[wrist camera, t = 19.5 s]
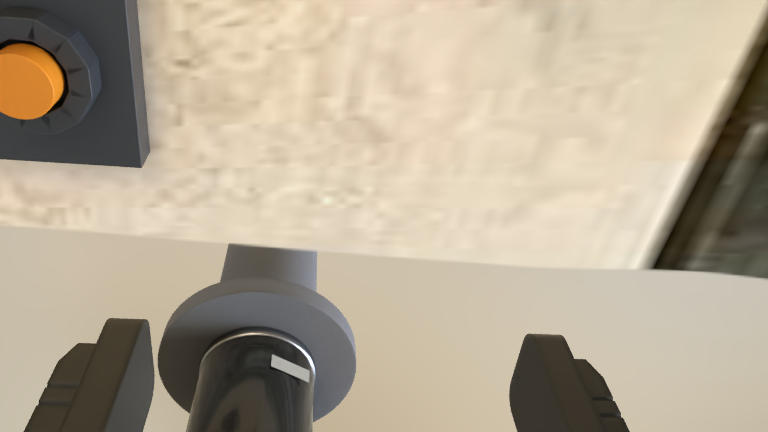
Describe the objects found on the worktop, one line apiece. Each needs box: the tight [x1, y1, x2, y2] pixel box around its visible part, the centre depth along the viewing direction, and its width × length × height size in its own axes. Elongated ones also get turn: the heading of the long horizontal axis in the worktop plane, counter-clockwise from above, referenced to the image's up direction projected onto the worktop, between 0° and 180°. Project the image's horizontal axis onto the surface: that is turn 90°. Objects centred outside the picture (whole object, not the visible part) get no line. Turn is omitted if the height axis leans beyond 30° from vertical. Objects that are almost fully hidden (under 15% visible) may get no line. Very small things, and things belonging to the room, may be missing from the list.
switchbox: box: [0, 0, 150, 168], centre depth 36 cm, size 12×10×4 cm
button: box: [0, 43, 65, 119], centre depth 34 cm, size 4×4×2 cm
